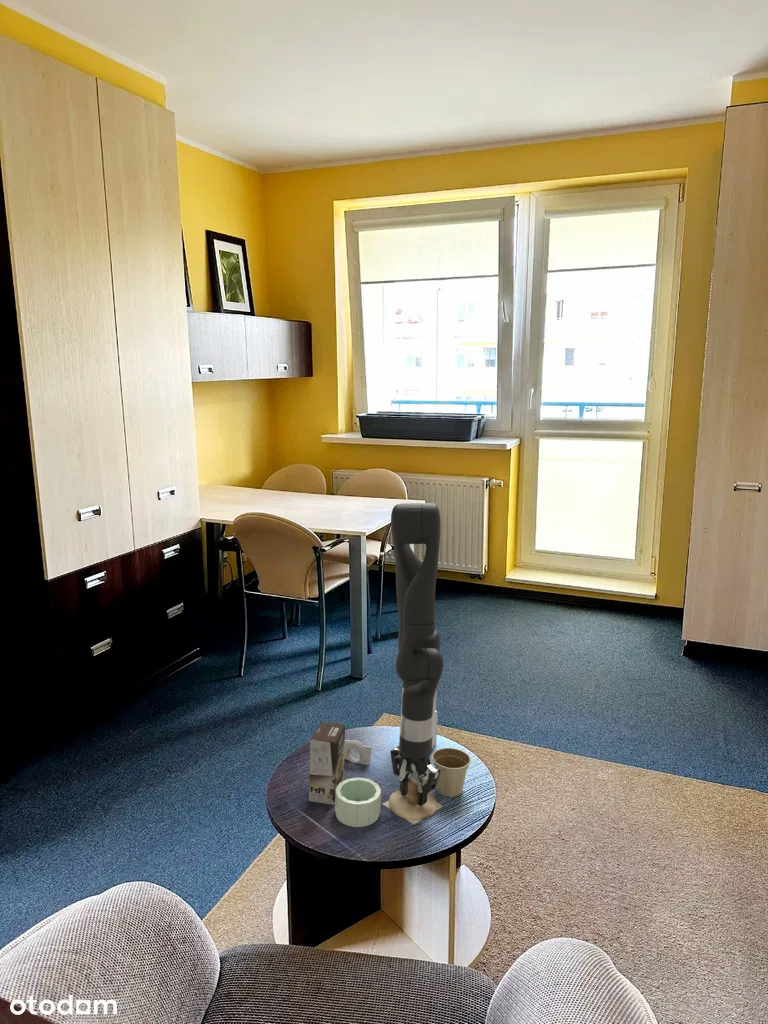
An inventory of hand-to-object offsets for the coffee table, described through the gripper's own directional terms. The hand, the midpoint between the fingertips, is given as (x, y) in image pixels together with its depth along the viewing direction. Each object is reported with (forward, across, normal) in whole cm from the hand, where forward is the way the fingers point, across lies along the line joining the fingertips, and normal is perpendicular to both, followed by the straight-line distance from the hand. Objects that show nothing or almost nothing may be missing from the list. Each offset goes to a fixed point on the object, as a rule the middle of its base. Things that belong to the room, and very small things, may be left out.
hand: (413, 799), depth 162 cm
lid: (+2, 0, 0) cm, 2 cm away
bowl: (+2, +6, +12) cm, 13 cm away
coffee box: (+2, +17, +11) cm, 21 cm away
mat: (+2, 0, 0) cm, 2 cm away
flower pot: (+2, -2, -12) cm, 12 cm away
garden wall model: (+2, +24, -2) cm, 25 cm away
